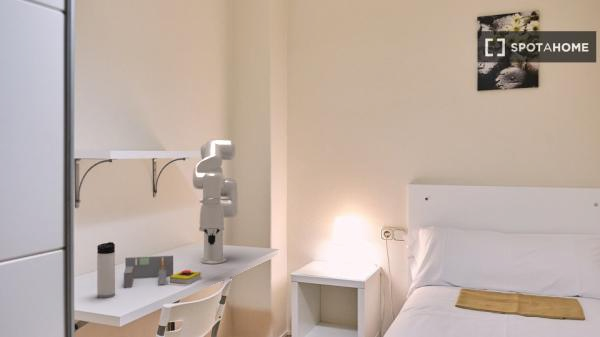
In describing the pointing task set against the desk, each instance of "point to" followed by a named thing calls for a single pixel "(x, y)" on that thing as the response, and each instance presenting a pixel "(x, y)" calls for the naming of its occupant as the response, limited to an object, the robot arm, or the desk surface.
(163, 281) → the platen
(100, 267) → the travel mug
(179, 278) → the emergency button
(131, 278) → the frame
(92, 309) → the desk surface
